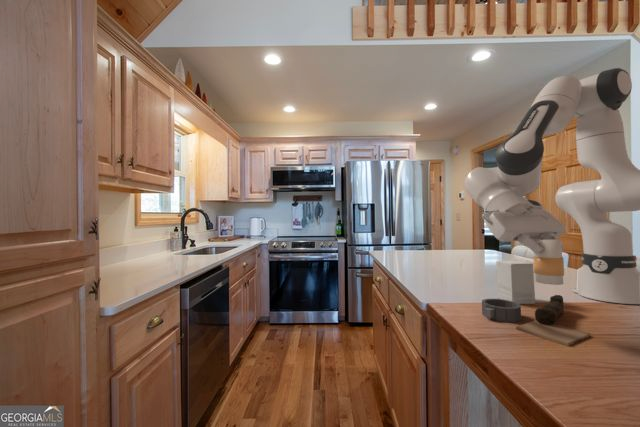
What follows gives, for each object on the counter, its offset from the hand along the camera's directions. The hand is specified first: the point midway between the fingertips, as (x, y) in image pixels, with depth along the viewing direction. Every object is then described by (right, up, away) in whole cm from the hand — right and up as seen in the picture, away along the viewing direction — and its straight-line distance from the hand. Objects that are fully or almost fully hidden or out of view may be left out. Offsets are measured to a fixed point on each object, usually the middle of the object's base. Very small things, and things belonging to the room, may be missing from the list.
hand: (550, 251), depth 63 cm
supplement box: (+10, -20, +24) cm, 33 cm away
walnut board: (0, -19, 0) cm, 19 cm away
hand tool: (+8, -19, +9) cm, 22 cm away
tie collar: (-4, -19, +11) cm, 23 cm away
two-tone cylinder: (0, -7, 0) cm, 7 cm away
